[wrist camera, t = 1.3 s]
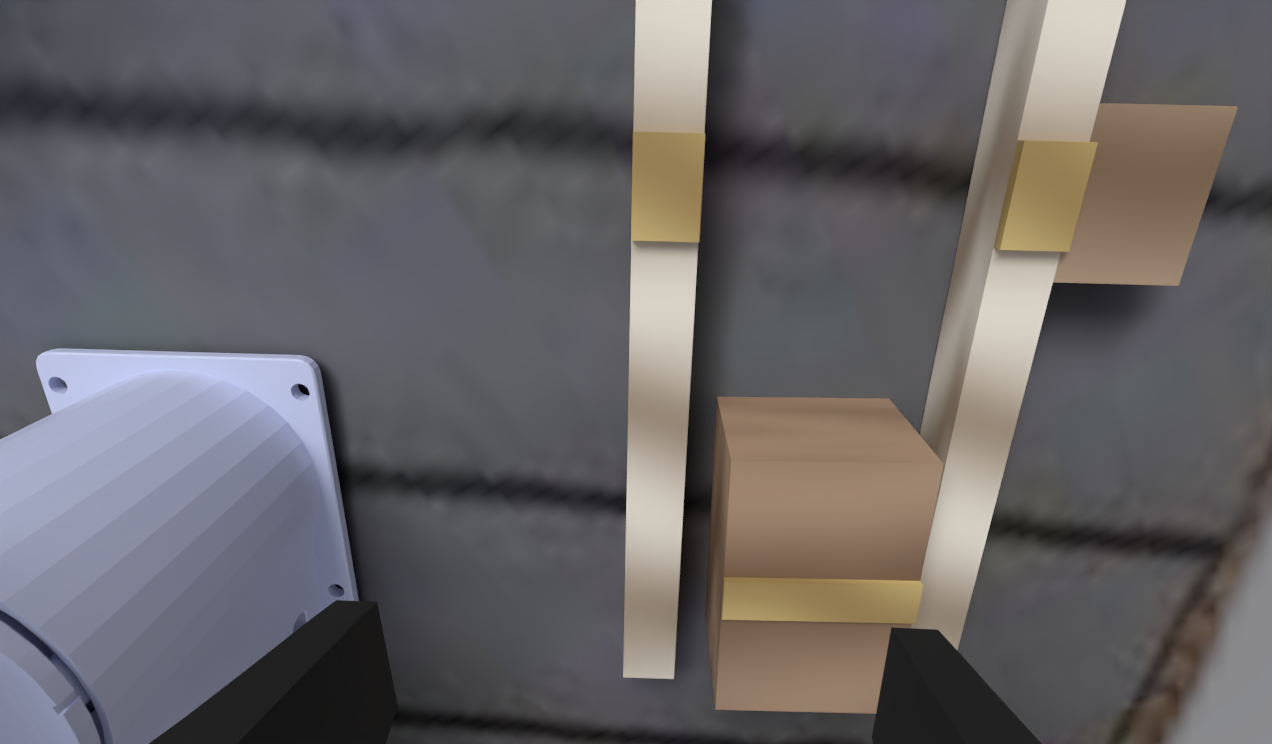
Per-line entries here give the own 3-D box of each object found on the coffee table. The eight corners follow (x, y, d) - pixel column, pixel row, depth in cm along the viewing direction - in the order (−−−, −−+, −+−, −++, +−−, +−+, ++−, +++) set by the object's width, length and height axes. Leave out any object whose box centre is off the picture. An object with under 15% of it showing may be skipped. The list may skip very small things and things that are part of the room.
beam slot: (1013, 648, 22) (1049, 699, 20) (625, 635, 22) (622, 684, 20) (1467, -864, 11) (1653, -1087, 9) (654, -865, 11) (655, -1086, 9)
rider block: (852, 612, 22) (896, 720, 18) (705, 609, 22) (715, 715, 18) (887, 396, 19) (947, 468, 15) (716, 394, 19) (732, 464, 15)
